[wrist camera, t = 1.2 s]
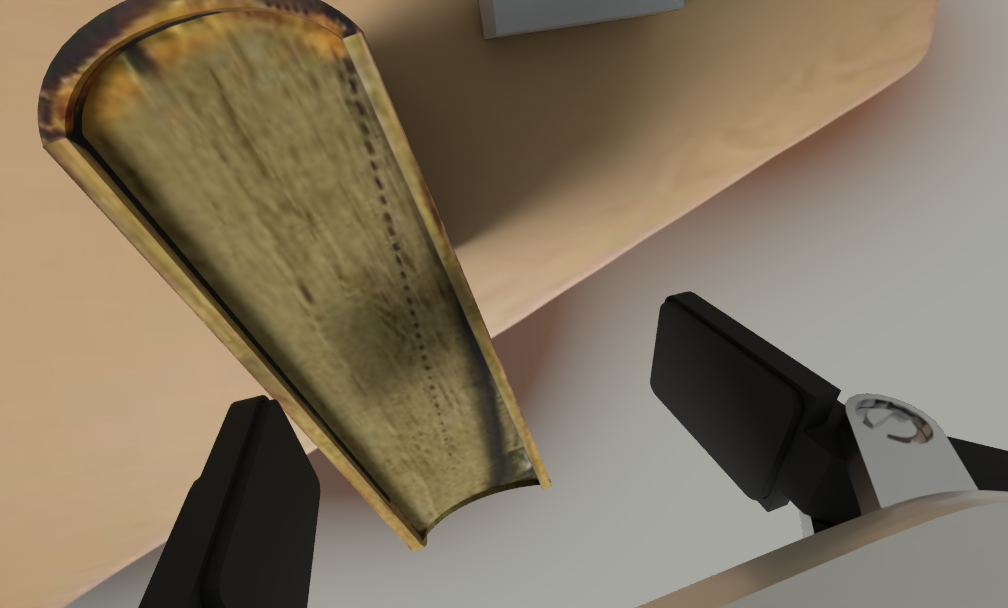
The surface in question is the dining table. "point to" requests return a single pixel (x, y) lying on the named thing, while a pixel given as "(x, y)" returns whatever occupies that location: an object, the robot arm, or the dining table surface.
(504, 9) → the frame
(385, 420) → the book
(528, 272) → the dining table surface
